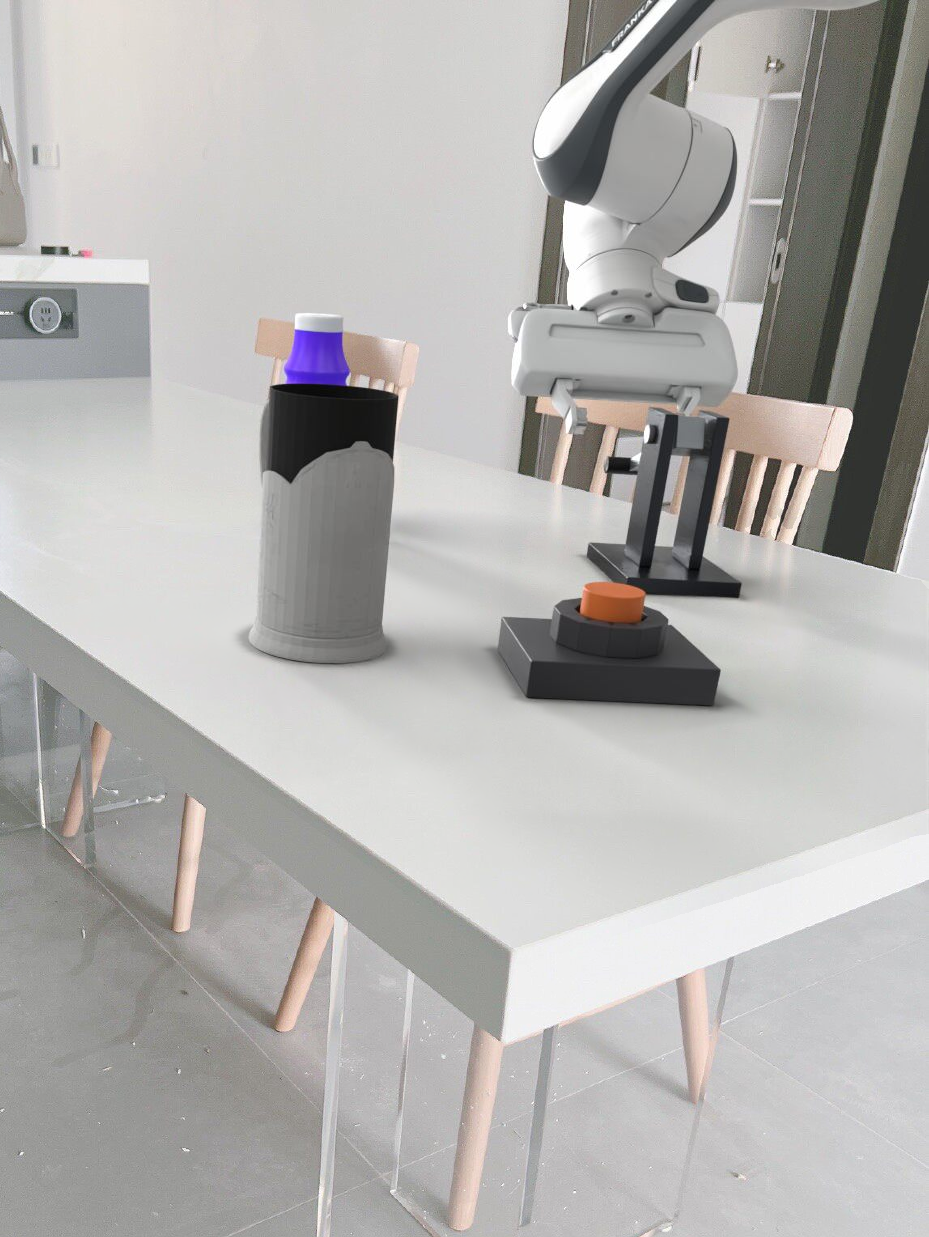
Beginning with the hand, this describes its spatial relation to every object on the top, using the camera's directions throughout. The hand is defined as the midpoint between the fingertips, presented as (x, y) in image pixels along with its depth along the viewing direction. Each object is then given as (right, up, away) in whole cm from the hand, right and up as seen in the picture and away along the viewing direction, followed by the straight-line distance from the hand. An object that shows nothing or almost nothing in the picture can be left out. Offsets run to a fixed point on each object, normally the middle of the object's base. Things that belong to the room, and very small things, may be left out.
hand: (629, 433), depth 108 cm
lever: (0, -5, -8) cm, 10 cm away
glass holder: (-29, -22, -30) cm, 47 cm away
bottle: (-29, -8, +1) cm, 30 cm away
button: (-10, -22, -36) cm, 44 cm away
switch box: (-10, -25, -35) cm, 44 cm away
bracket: (0, -15, -9) cm, 17 cm away
